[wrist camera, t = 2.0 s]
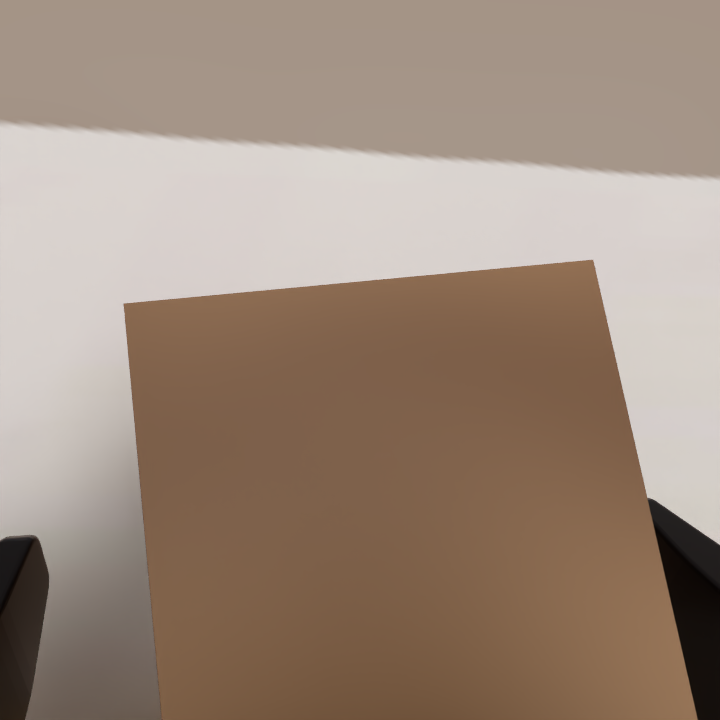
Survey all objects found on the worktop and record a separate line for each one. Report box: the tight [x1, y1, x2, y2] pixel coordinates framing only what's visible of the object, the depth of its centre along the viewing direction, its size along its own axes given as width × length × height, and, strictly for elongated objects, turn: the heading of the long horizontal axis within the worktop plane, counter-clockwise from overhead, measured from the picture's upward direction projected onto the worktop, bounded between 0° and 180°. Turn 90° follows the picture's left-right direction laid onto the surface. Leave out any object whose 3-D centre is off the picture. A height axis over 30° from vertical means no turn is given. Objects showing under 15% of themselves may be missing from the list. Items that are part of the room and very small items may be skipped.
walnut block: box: [124, 260, 698, 720], centre depth 12 cm, size 5×5×12 cm
